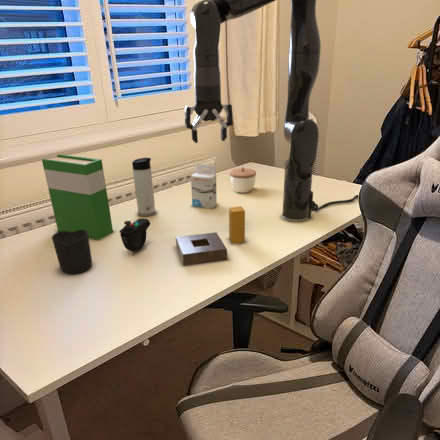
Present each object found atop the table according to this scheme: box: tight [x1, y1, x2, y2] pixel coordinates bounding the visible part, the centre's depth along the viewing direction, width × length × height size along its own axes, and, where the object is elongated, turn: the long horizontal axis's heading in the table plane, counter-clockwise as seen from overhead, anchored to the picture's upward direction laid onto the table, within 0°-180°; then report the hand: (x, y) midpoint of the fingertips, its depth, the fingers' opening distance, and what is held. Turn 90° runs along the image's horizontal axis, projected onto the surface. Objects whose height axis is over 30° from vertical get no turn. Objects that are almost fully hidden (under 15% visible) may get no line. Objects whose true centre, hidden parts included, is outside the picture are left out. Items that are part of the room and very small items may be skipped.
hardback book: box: [41, 154, 114, 241], centre depth 143 cm, size 18×7×24 cm, turn 63°
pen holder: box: [51, 230, 93, 275], centre depth 124 cm, size 9×9×10 cm
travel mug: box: [131, 157, 156, 217], centre depth 158 cm, size 6×7×20 cm
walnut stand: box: [175, 231, 228, 266], centre depth 132 cm, size 13×13×4 cm
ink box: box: [190, 163, 218, 209], centre depth 165 cm, size 9×5×15 cm, turn 71°
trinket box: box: [229, 167, 257, 194], centre depth 181 cm, size 11×11×9 cm
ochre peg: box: [228, 205, 246, 245], centre depth 137 cm, size 4×4×10 cm
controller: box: [119, 217, 152, 252], centre depth 134 cm, size 4×12×10 cm, turn 157°
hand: (209, 141), depth 136 cm, fingers open, 8 cm apart
